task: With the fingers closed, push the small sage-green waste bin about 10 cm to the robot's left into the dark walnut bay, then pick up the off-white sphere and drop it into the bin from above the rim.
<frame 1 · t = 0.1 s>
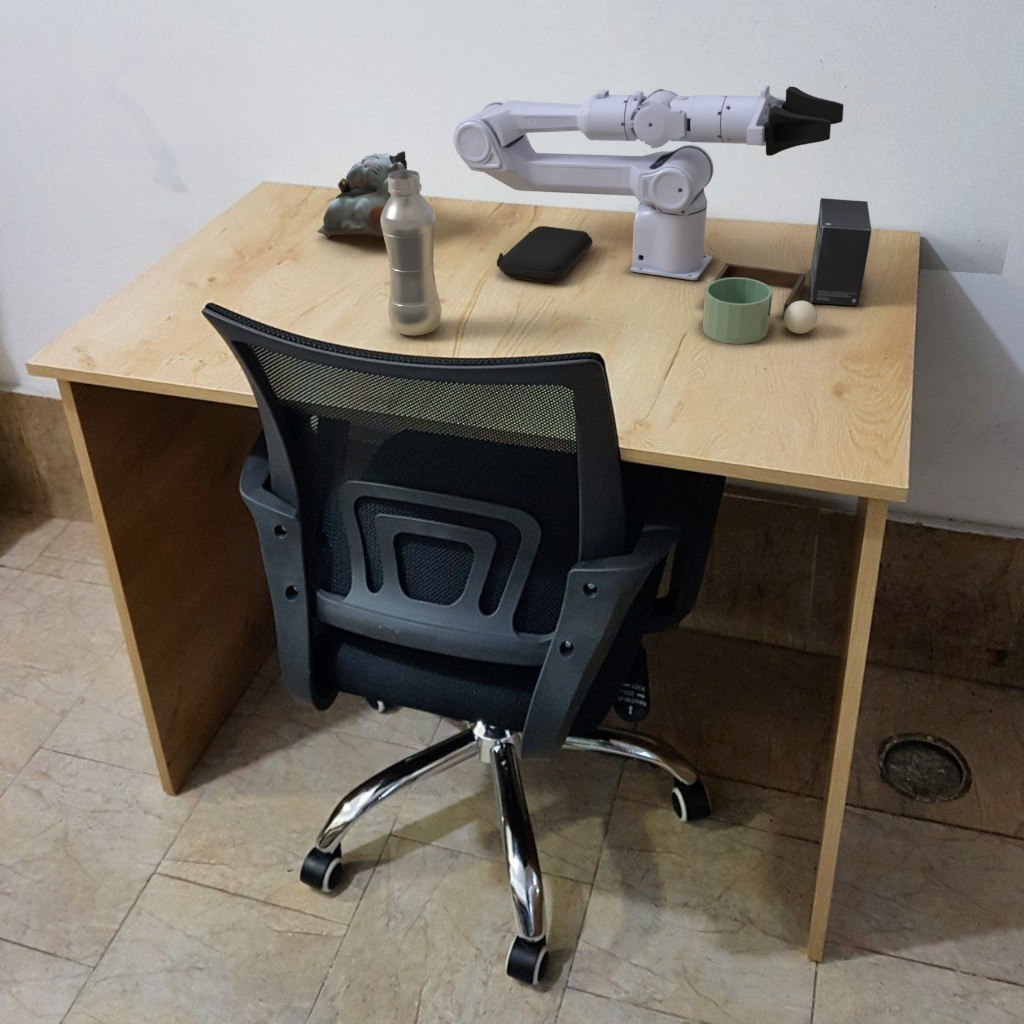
hand: (836, 121, 138), 22 cm above the table, tool horizontal, fingers open, 7 cm apart
carrying case: (543, 264, 160), on the table
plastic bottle: (417, 331, 144), on the table
small box: (834, 290, 150), on the table
lucky cat figurine: (368, 236, 171), on the table
waste bin: (735, 329, 141), on the table
off-white sphere: (800, 317, 139), point 2 cm above the table
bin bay: (754, 297, 148), on the table
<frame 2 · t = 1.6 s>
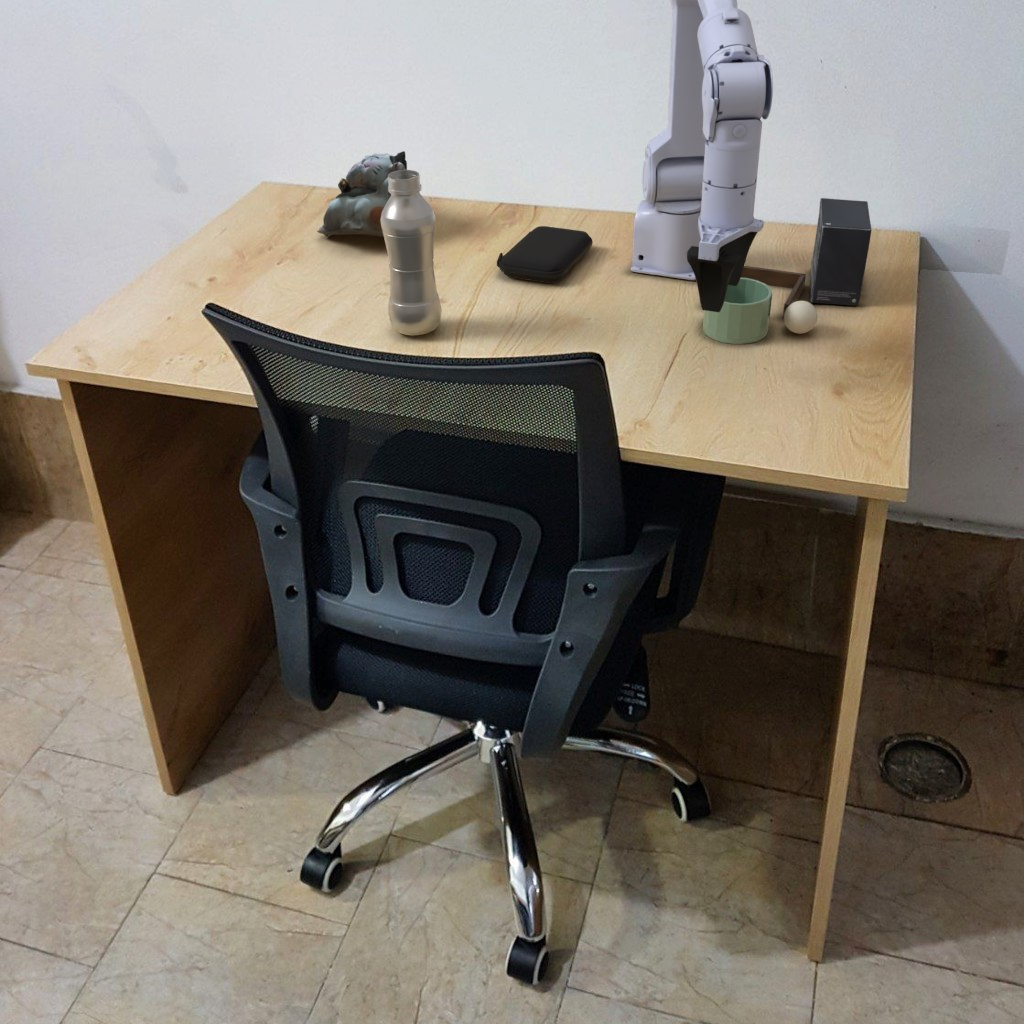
hand: (720, 296, 129), 8 cm above the table, tool pointing down, fingers open, 7 cm apart
nothing on the table moved.
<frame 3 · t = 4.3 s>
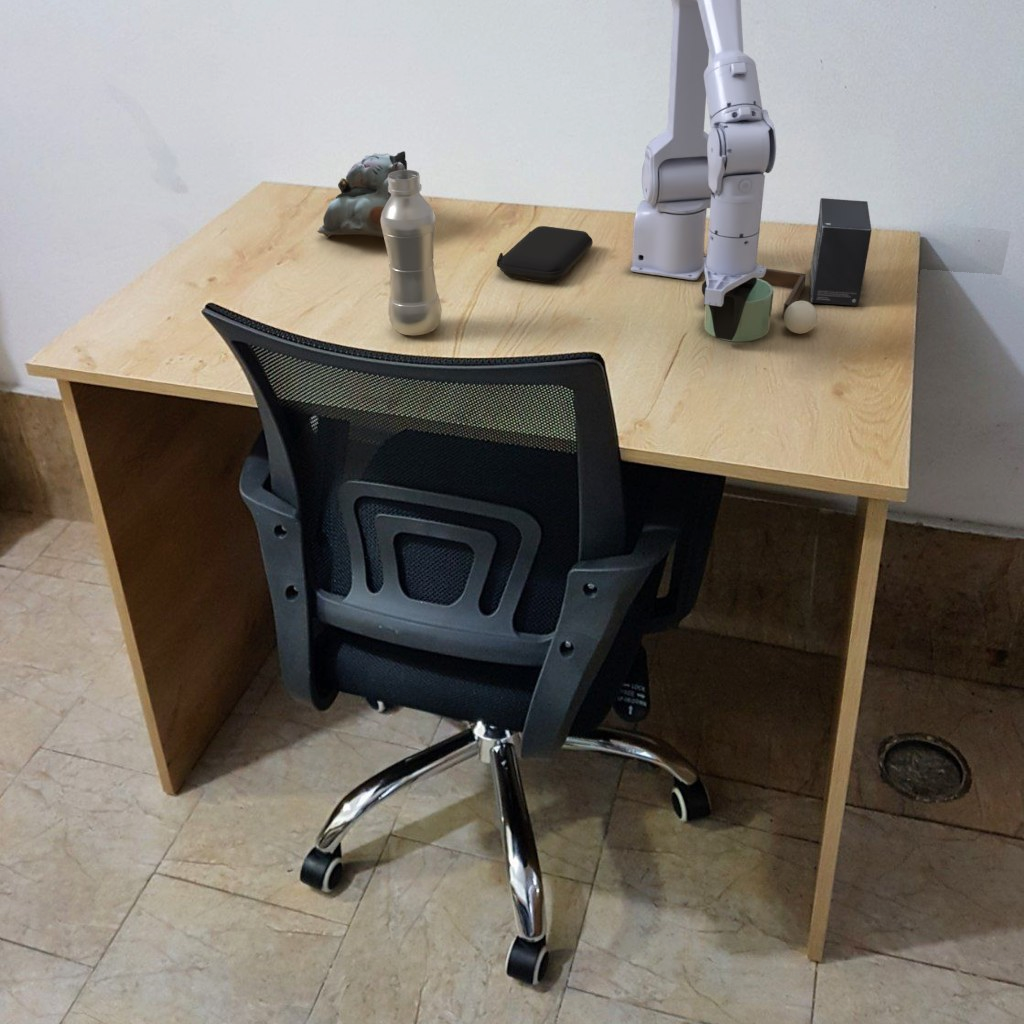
hand: (724, 336, 136), 1 cm above the table, tool pointing down, fingers closed
waste bin: (736, 327, 142), on the table, touching gripper
everything else where it was.
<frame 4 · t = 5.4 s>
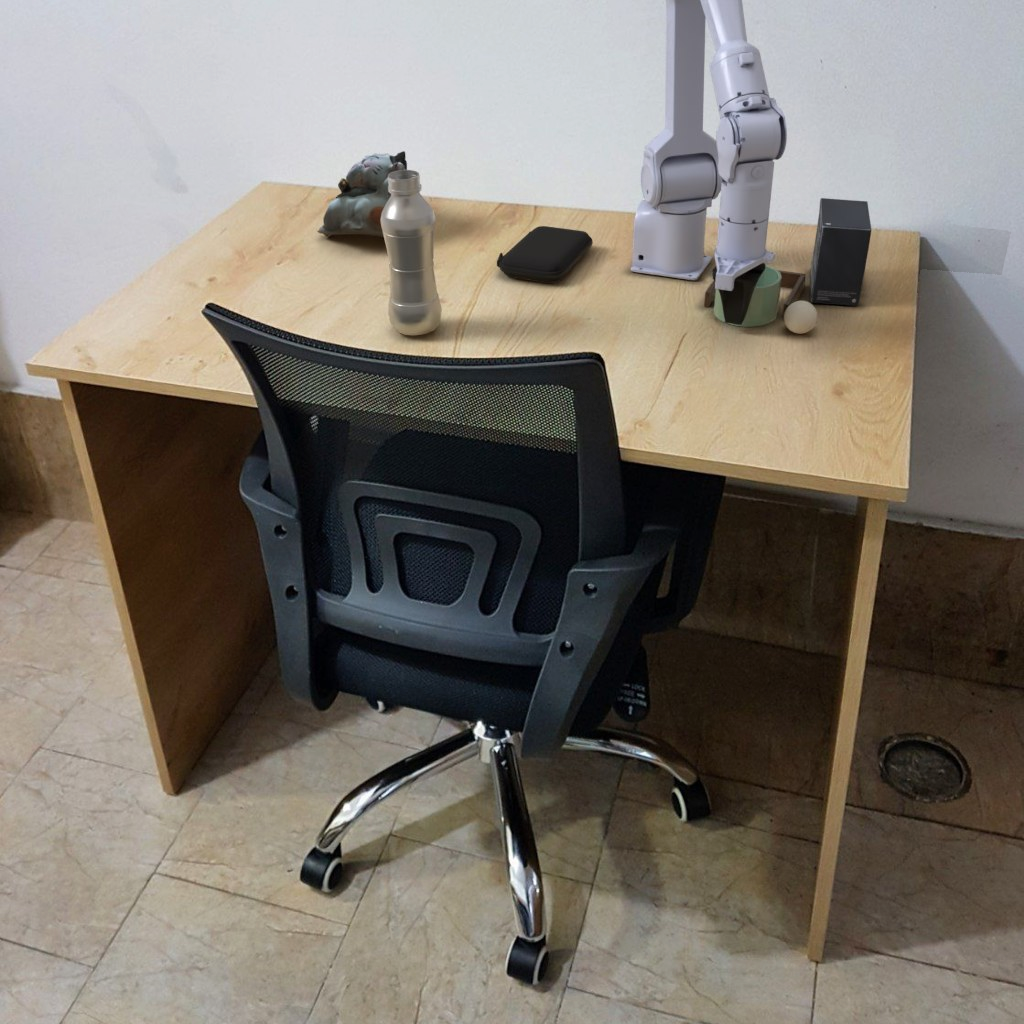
hand: (734, 321, 140), 1 cm above the table, tool pointing down, fingers closed
waste bin: (745, 313, 145), on the table, touching gripper
everything else where it was.
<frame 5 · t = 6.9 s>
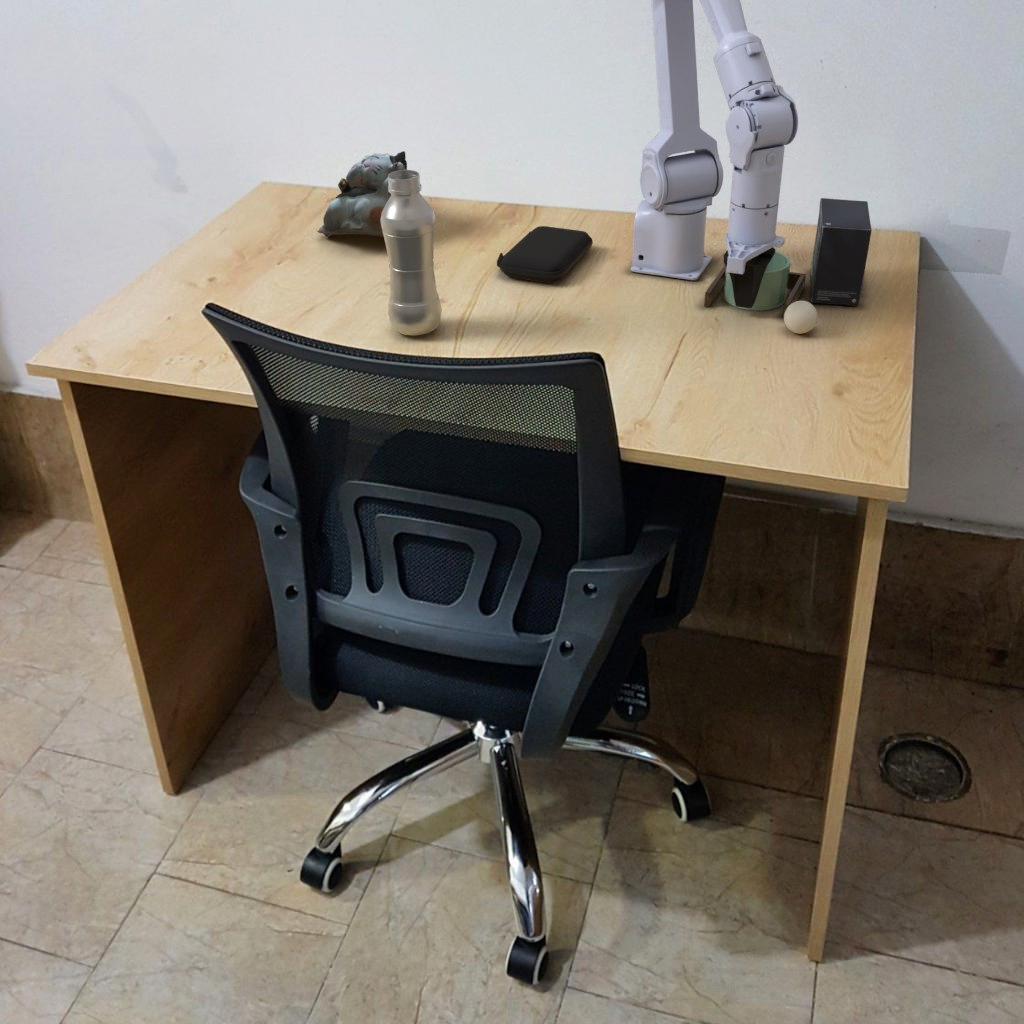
hand: (744, 305, 143), 1 cm above the table, tool pointing down, fingers closed
waste bin: (754, 297, 148), on the table, touching gripper
everything else where it was.
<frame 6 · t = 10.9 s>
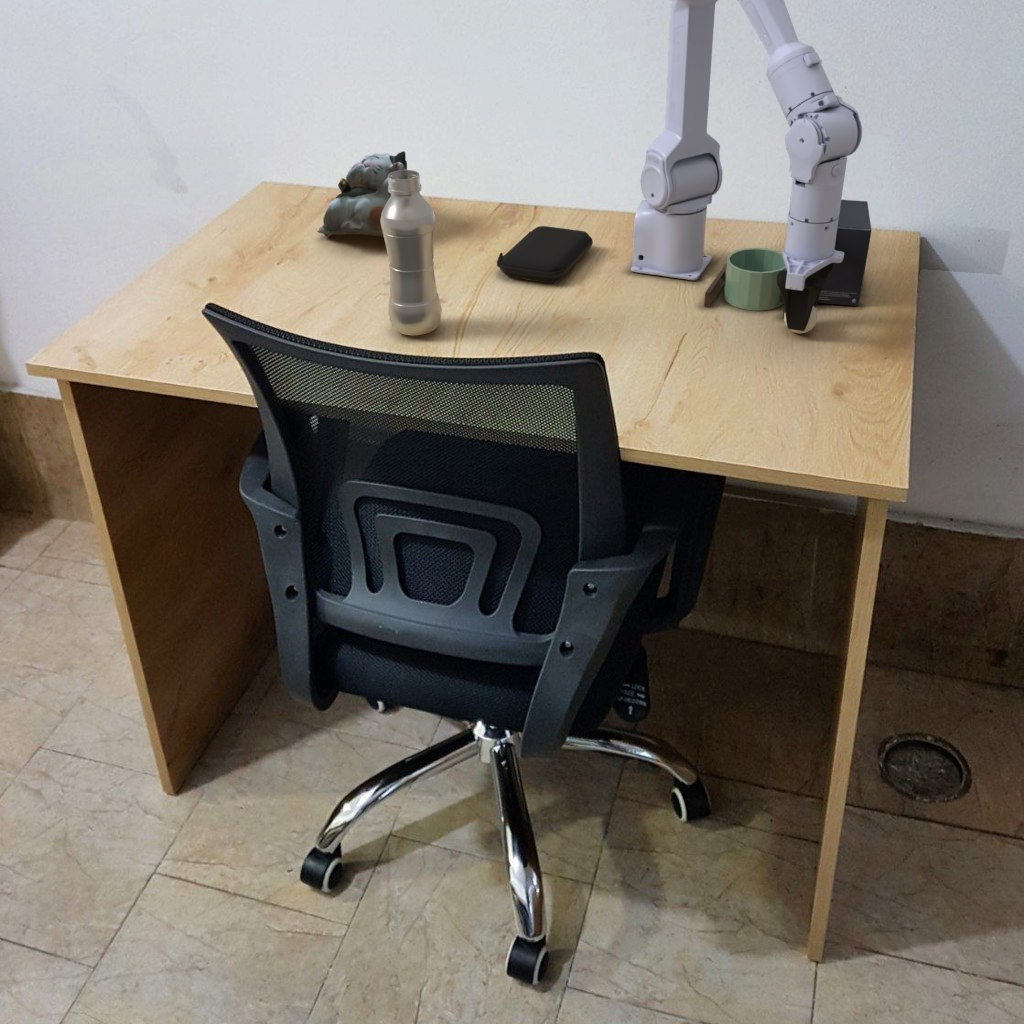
hand: (800, 321, 139), 1 cm above the table, tool pointing down, fingers closed on off-white sphere, 4 cm apart
waste bin: (754, 297, 148), on the table
off-white sphere: (800, 317, 139), point 2 cm above the table, touching gripper
everything else where it was.
when the fingers open (6 cm above the table, at t = 14.8 s): off-white sphere drops 4 cm, resting on waste bin.
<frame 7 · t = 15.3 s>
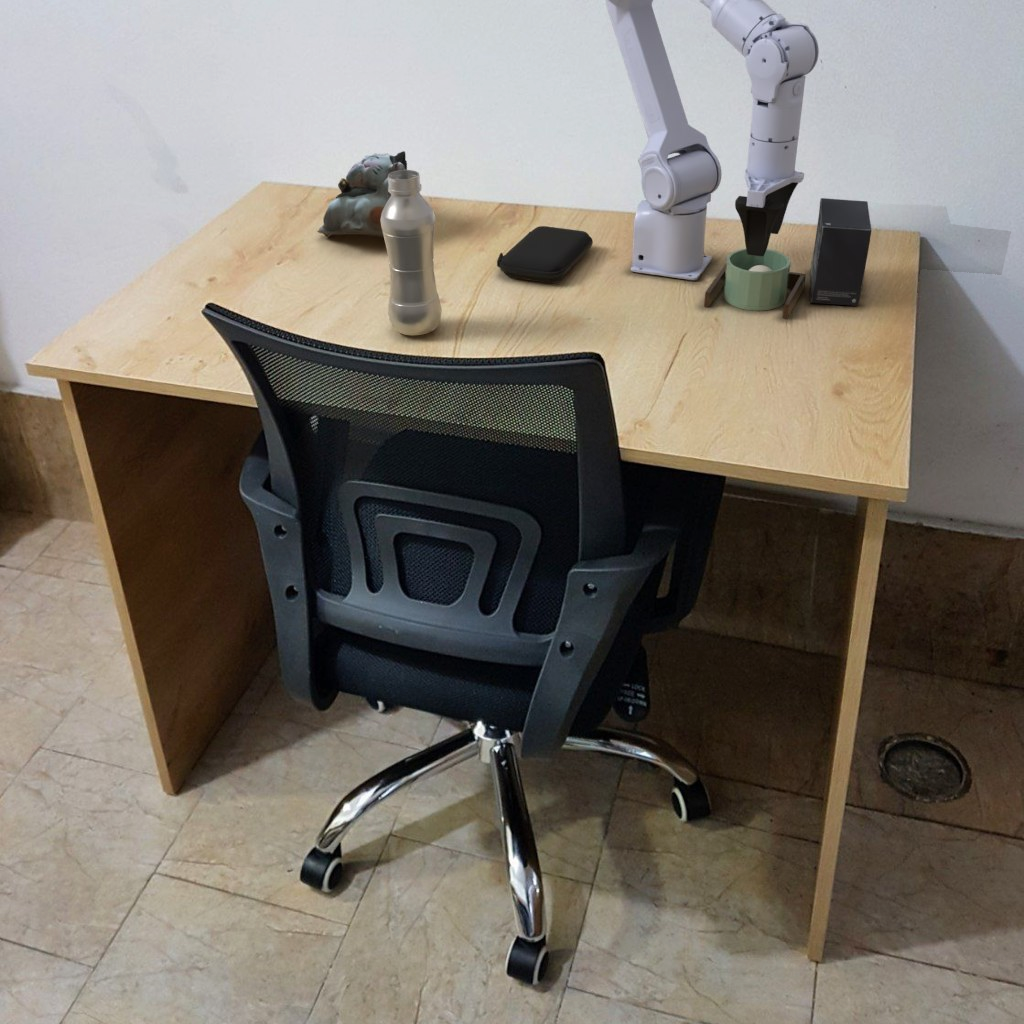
hand: (763, 243, 143), 8 cm above the table, tool pointing down, fingers open, 7 cm apart
waste bin: (754, 297, 148), on the table, touching off-white sphere
off-white sphere: (759, 280, 146), point 3 cm above the table, touching waste bin
everything else where it was.
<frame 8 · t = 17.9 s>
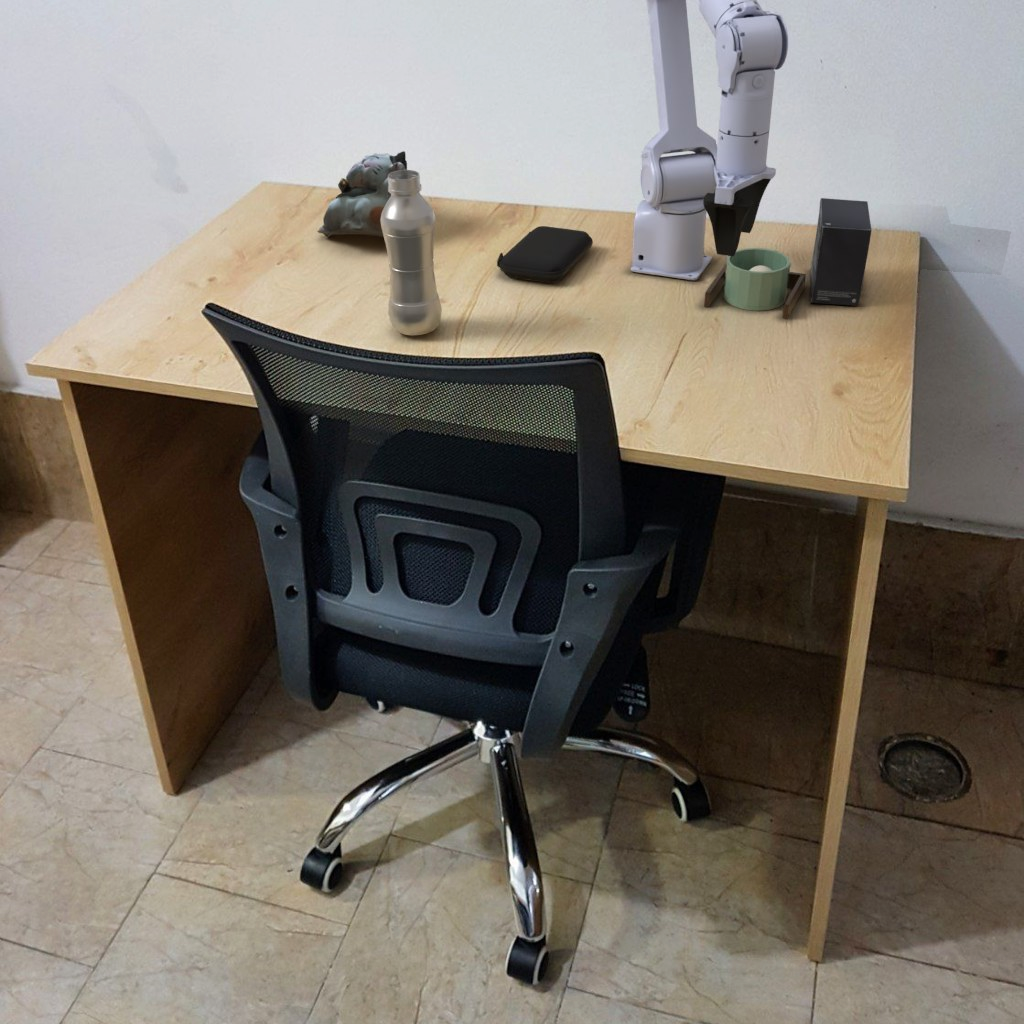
hand: (734, 242, 137), 10 cm above the table, tool pointing down, fingers open, 7 cm apart
nothing on the table moved.
at the end: waste bin 0.8 cm off-centre on the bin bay, point 0.0 cm above the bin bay's base; waste bin tilted 0°; off-white sphere 0.8 cm off-centre in the waste bin, point 2.6 cm above the waste bin's base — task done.
